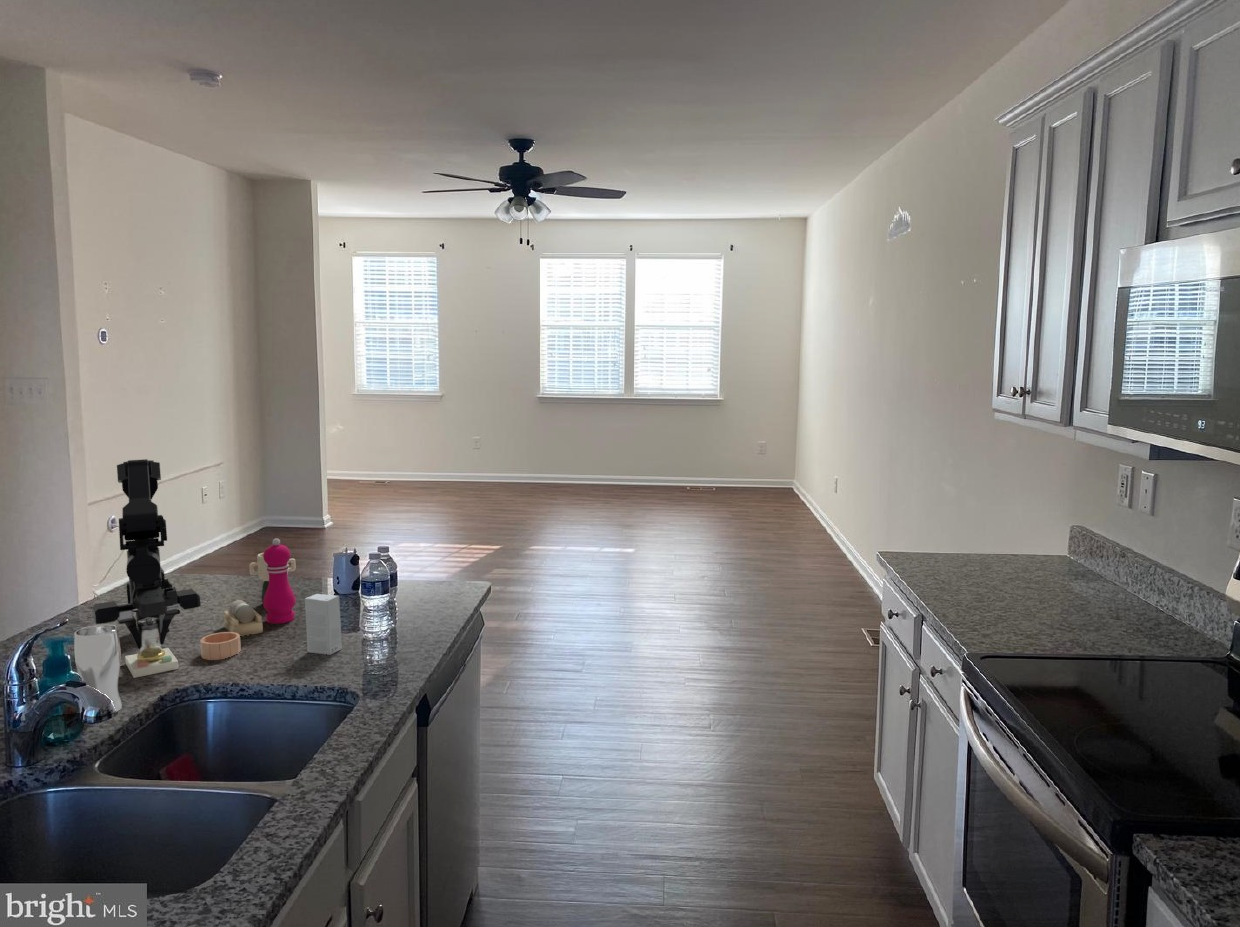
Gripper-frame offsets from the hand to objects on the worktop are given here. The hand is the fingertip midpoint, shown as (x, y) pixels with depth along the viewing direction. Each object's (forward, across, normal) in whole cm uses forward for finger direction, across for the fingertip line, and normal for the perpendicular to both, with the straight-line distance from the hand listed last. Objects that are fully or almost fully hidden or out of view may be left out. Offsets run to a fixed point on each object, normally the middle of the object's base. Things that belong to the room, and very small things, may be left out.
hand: (150, 646), depth 173 cm
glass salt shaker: (+2, 0, 0) cm, 2 cm away
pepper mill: (+4, +30, +15) cm, 34 cm away
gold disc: (+2, 0, 0) cm, 2 cm away
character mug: (+4, +33, +30) cm, 45 cm away
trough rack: (+4, +21, +13) cm, 25 cm away
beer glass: (+4, -11, -19) cm, 22 cm away
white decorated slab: (+4, 0, 0) cm, 4 cm away
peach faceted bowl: (+4, +13, -1) cm, 14 cm away
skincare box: (+4, +31, -13) cm, 34 cm away
